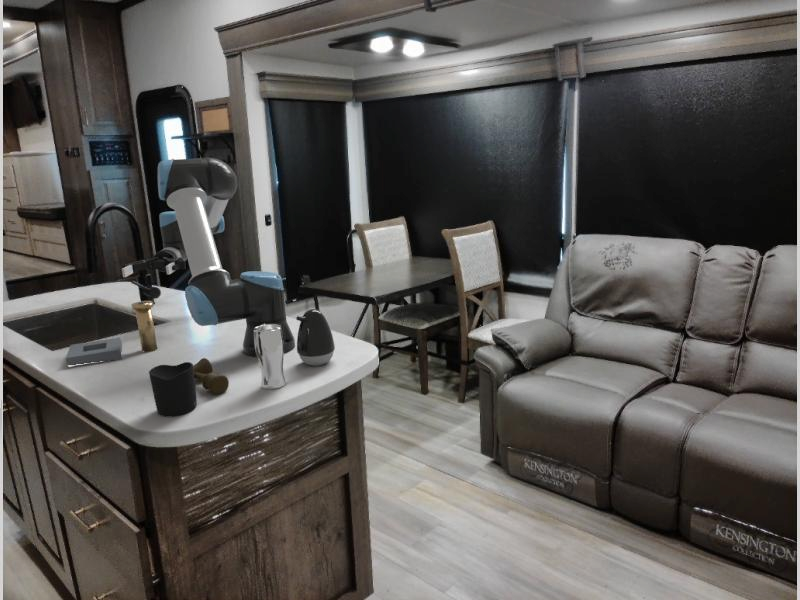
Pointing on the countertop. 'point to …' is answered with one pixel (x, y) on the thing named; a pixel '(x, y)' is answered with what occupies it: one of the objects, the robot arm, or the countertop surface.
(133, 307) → the bushing
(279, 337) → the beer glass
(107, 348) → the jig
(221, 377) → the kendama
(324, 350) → the pump dispenser
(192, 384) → the pen holder
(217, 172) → the robot arm
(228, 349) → the countertop surface
